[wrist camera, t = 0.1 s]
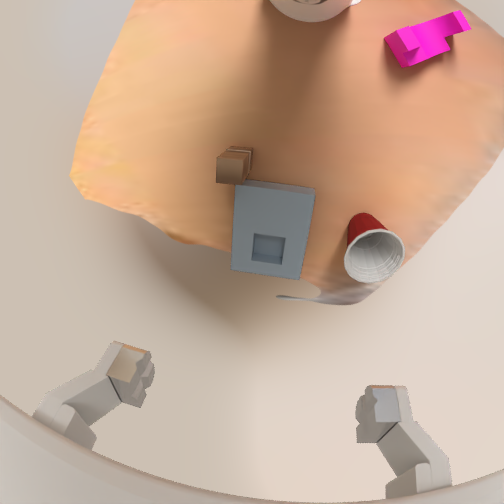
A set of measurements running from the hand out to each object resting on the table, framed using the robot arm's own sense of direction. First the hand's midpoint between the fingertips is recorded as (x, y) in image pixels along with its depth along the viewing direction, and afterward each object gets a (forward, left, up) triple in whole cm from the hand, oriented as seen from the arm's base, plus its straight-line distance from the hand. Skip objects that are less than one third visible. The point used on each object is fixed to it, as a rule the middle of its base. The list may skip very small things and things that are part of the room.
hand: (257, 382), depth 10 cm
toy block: (-26, +22, -47) cm, 58 cm away
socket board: (+16, -2, -47) cm, 50 cm away
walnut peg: (+3, -9, -47) cm, 48 cm away
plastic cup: (+13, +16, -47) cm, 51 cm away
